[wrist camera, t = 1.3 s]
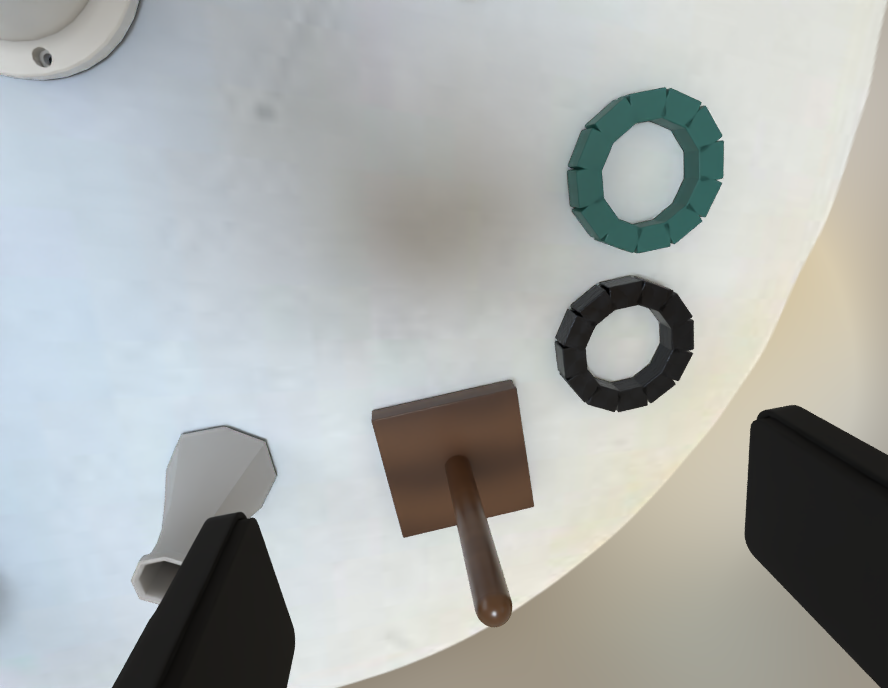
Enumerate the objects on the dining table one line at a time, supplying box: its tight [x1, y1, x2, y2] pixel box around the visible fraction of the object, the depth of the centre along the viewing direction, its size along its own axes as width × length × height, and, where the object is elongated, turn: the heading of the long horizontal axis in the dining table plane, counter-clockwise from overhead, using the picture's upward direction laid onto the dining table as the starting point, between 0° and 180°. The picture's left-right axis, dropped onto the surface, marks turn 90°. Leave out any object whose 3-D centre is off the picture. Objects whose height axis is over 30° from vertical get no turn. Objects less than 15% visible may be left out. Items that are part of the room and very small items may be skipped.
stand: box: [372, 380, 534, 627], centre depth 29 cm, size 10×10×14 cm
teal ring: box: [567, 87, 724, 253], centre depth 30 cm, size 9×9×2 cm
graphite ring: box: [555, 276, 694, 412], centre depth 34 cm, size 9×9×2 cm
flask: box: [131, 427, 276, 604], centre depth 30 cm, size 7×7×10 cm
